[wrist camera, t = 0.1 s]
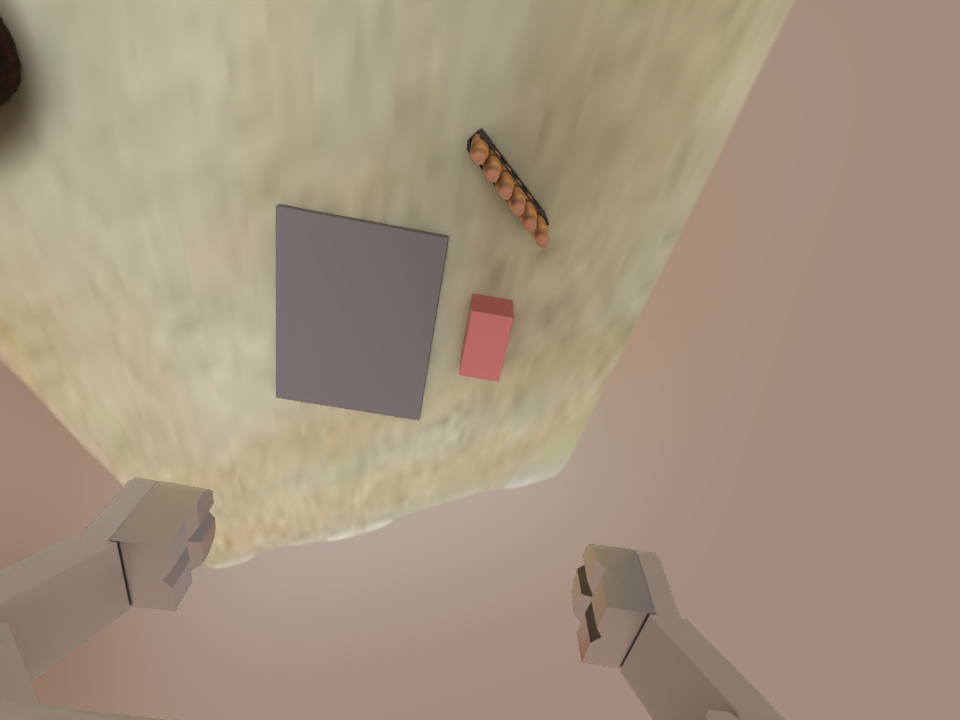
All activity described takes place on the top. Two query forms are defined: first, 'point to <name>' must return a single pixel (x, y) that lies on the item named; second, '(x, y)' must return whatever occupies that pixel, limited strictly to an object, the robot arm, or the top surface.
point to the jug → (8, 65)
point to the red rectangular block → (486, 337)
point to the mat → (354, 311)
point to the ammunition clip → (509, 186)
